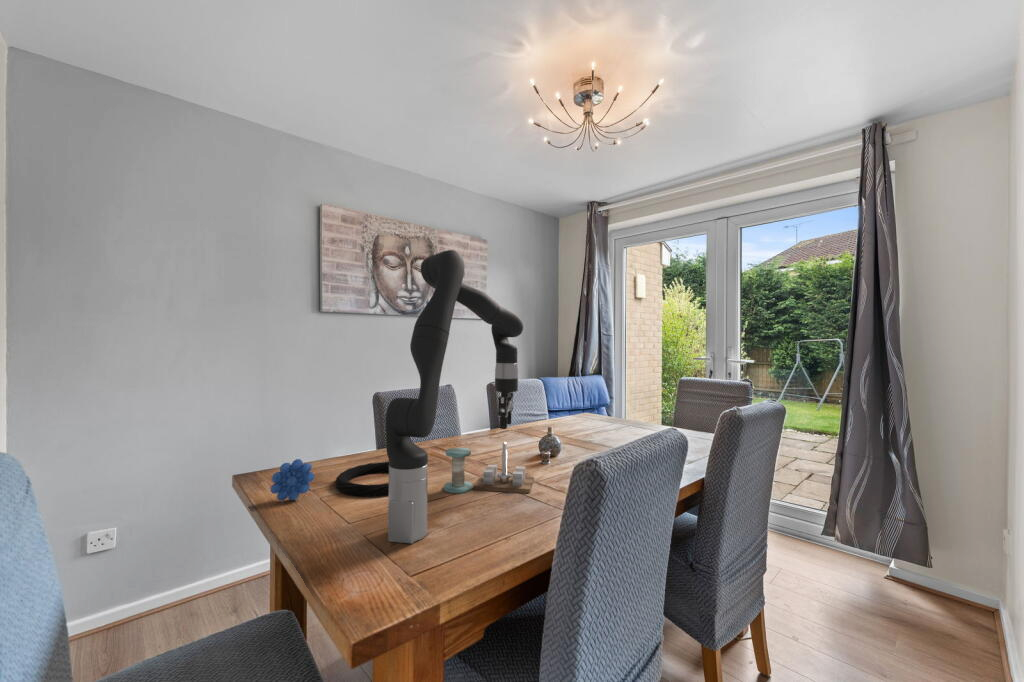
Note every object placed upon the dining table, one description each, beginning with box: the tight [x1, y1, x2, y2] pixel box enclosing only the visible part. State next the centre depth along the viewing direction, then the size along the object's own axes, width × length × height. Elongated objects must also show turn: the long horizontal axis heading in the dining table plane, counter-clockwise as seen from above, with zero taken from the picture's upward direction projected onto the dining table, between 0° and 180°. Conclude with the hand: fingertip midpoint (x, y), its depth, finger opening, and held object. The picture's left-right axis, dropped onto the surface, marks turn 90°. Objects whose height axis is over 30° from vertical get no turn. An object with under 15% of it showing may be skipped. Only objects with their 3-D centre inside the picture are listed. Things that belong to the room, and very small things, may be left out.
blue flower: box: [270, 458, 315, 501], centre depth 130 cm, size 12×7×12 cm, turn 108°
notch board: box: [472, 464, 535, 494], centre depth 144 cm, size 12×18×5 cm, turn 81°
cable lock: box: [334, 461, 389, 498], centre depth 147 cm, size 28×4×30 cm
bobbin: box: [443, 447, 473, 494], centre depth 141 cm, size 9×9×12 cm
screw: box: [497, 441, 513, 483], centre depth 144 cm, size 13×5×5 cm
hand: (505, 426), depth 144 cm, fingers open, 8 cm apart
